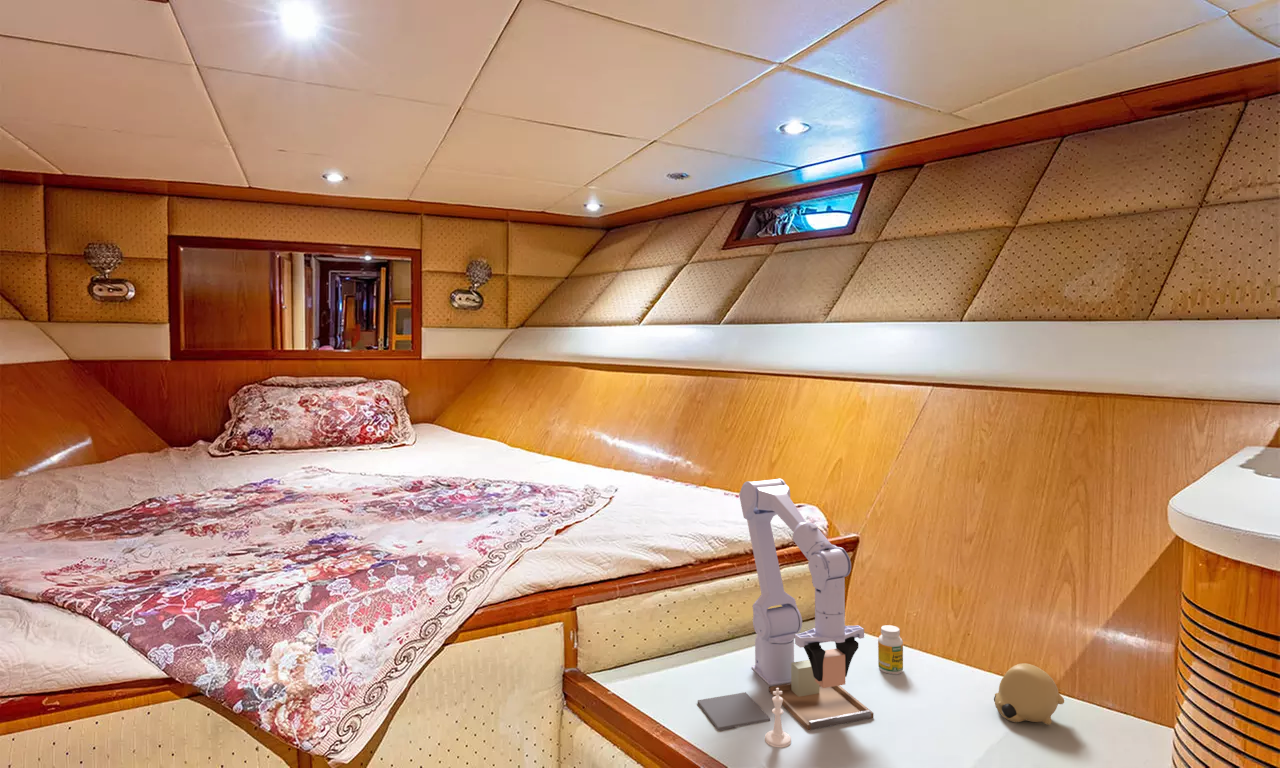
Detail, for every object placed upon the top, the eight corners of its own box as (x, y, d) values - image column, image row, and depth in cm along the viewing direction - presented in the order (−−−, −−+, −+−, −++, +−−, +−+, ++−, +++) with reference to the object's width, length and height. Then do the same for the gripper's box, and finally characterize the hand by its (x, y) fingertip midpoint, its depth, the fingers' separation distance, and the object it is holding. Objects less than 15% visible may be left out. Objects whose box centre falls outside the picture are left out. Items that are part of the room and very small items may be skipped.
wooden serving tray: (769, 692, 144) (768, 685, 144) (828, 682, 148) (828, 675, 148) (807, 731, 129) (807, 723, 129) (873, 718, 133) (873, 710, 133)
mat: (697, 703, 140) (697, 700, 140) (745, 694, 143) (745, 692, 143) (718, 730, 129) (718, 727, 129) (769, 721, 133) (769, 718, 132)
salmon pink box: (815, 681, 135) (814, 651, 135) (836, 677, 136) (836, 648, 136) (823, 688, 132) (823, 658, 132) (845, 684, 133) (845, 654, 133)
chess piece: (761, 734, 128) (761, 682, 128) (786, 732, 128) (786, 681, 128) (768, 749, 123) (768, 695, 123) (795, 747, 123) (794, 694, 123)
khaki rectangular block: (791, 690, 144) (791, 662, 144) (811, 686, 146) (811, 659, 146) (798, 696, 142) (798, 668, 141) (819, 693, 143) (819, 665, 143)
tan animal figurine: (1018, 723, 137) (975, 684, 139) (1062, 684, 135) (1018, 645, 137) (1033, 749, 127) (987, 706, 130) (1080, 707, 125) (1033, 664, 127)
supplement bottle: (887, 662, 158) (887, 621, 157) (908, 670, 153) (908, 629, 153) (873, 668, 155) (873, 627, 154) (893, 677, 150) (893, 634, 150)
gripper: (807, 621, 128) (808, 691, 128) (873, 612, 132) (873, 680, 132) (789, 608, 135) (790, 675, 135) (852, 600, 139) (852, 665, 139)
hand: (830, 676), depth 134 cm, fingers closed on salmon pink box, 5 cm apart
